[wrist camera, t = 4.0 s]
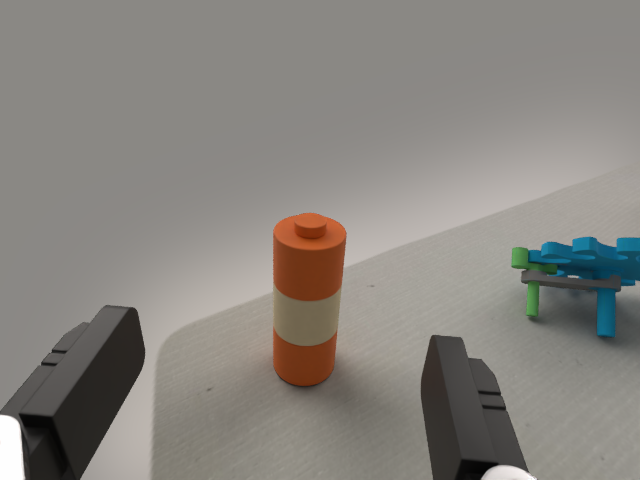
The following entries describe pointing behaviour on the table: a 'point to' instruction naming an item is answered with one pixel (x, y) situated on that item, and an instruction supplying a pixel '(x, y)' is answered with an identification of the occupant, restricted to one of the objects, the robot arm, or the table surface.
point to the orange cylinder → (306, 296)
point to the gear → (581, 272)
